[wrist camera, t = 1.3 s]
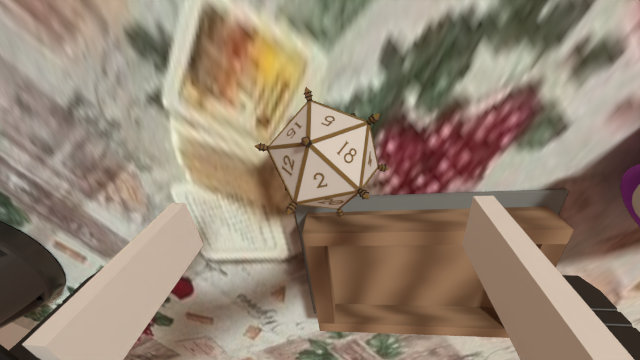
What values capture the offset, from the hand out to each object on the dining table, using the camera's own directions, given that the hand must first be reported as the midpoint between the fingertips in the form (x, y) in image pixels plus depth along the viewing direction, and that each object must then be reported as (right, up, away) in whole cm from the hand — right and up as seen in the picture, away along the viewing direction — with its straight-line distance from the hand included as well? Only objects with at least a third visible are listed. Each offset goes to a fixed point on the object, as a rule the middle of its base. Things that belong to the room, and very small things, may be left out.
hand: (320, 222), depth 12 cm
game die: (+1, +6, +10) cm, 12 cm away
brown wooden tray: (+10, -7, +16) cm, 20 cm away
